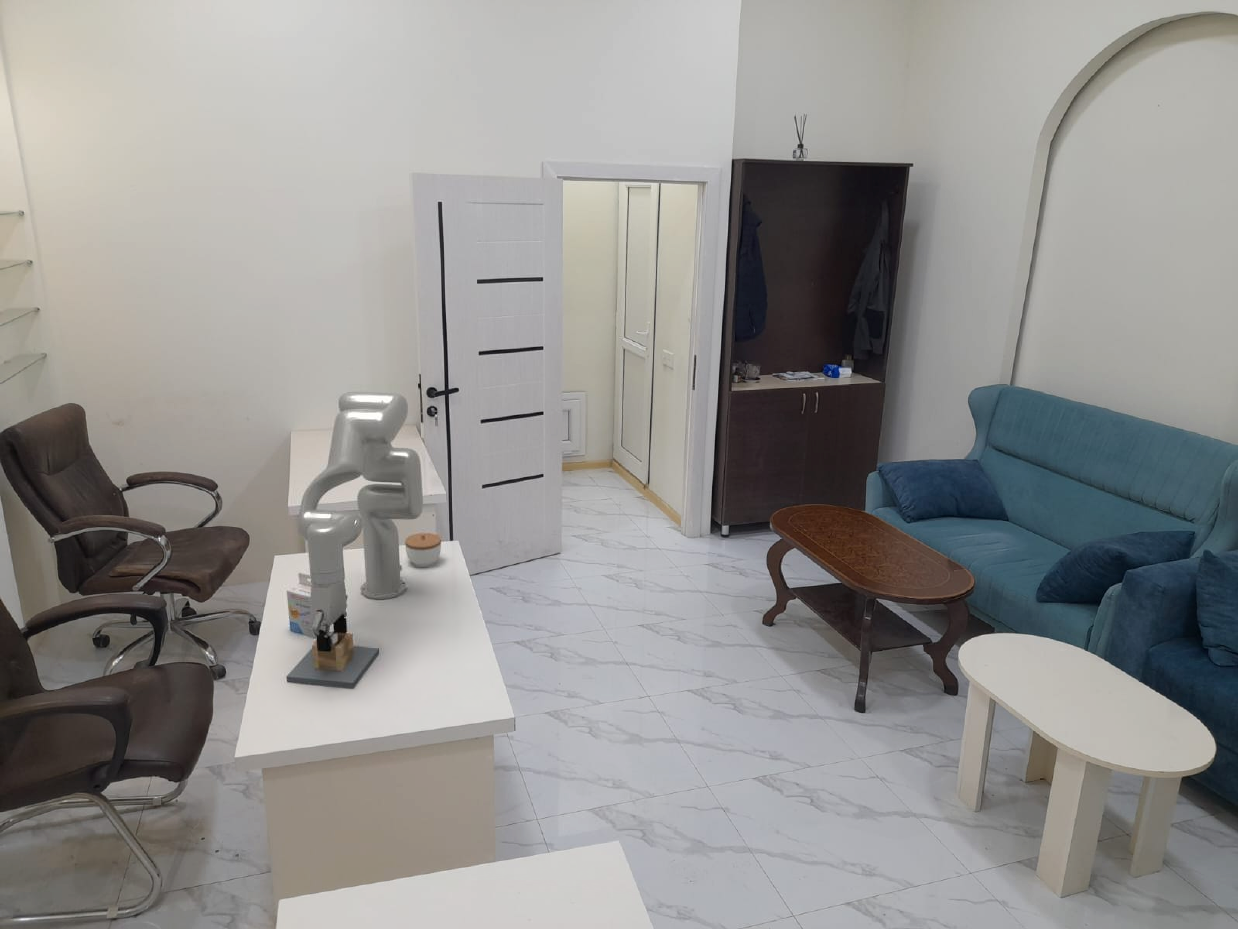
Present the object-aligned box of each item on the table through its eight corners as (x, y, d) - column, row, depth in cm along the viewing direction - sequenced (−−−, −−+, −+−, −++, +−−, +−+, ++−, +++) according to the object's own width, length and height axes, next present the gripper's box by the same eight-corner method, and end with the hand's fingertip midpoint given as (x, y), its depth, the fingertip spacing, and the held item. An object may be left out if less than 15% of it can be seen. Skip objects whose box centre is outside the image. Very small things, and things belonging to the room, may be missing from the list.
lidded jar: (406, 571, 265) (404, 542, 262) (405, 557, 275) (404, 529, 272) (442, 569, 267) (441, 540, 264) (441, 554, 277) (440, 527, 274)
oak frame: (326, 653, 215) (324, 631, 214) (354, 655, 215) (352, 633, 213) (313, 668, 209) (311, 645, 207) (342, 670, 208) (340, 648, 206)
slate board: (317, 648, 221) (317, 642, 220) (379, 653, 219) (379, 648, 218) (286, 682, 206) (286, 676, 205) (353, 688, 204) (352, 682, 203)
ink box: (289, 631, 228) (284, 579, 224) (302, 623, 233) (298, 571, 228) (315, 638, 225) (310, 585, 221) (328, 630, 230) (324, 578, 225)
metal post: (331, 658, 213) (329, 631, 211) (341, 659, 213) (339, 631, 210) (327, 664, 211) (324, 635, 208) (336, 665, 211) (334, 636, 208)
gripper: (328, 558, 213) (333, 623, 219) (294, 589, 197) (300, 658, 202) (358, 560, 213) (362, 625, 218) (326, 592, 196) (332, 661, 202)
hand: (332, 641), depth 210 cm, fingers open, 8 cm apart
